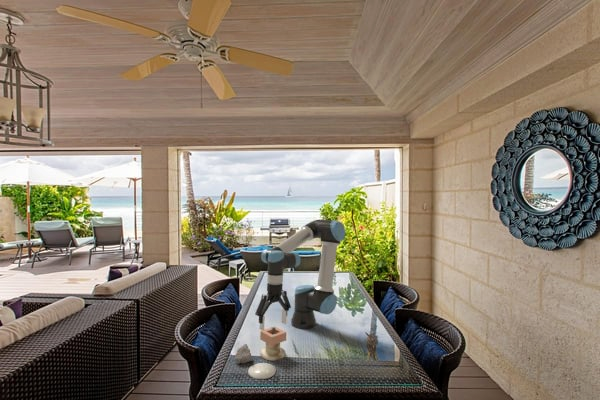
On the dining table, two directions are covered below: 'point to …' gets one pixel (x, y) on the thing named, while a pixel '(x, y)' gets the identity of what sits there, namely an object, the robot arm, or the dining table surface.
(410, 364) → the dining table surface
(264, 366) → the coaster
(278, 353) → the stand
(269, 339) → the link
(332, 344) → the dining table surface
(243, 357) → the stone
